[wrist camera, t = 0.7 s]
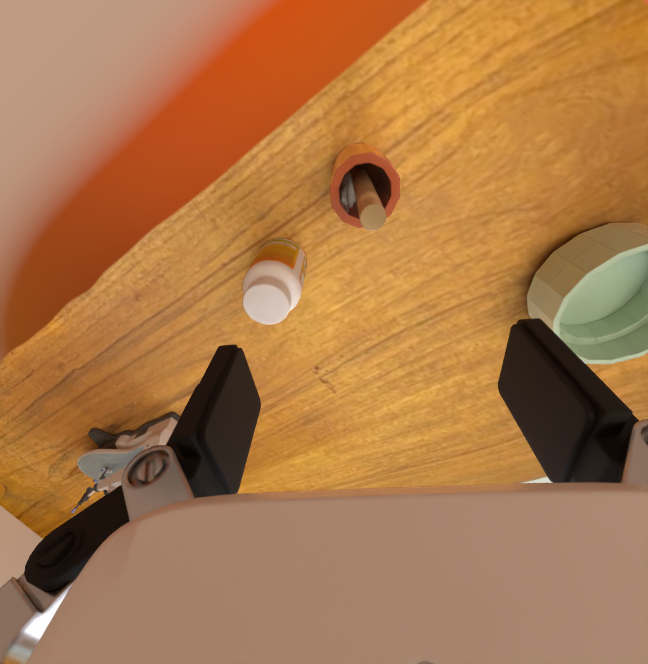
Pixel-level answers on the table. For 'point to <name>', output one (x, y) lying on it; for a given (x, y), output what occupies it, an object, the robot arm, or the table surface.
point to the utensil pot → (378, 173)
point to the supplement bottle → (274, 281)
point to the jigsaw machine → (121, 452)
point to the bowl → (597, 293)
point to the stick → (367, 200)
